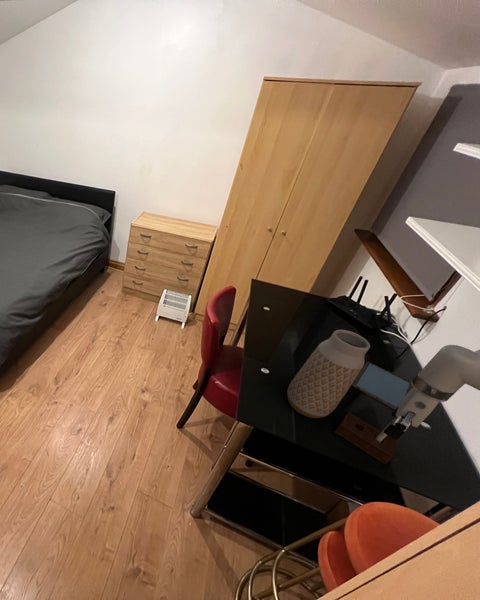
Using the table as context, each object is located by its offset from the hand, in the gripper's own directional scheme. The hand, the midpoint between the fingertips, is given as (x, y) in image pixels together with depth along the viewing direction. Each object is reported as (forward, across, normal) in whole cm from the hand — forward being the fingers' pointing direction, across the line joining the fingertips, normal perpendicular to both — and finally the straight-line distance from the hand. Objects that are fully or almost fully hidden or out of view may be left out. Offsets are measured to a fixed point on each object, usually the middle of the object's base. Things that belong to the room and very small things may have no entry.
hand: (393, 426), depth 94 cm
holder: (+10, 0, +3) cm, 11 cm away
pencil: (+10, 0, 0) cm, 10 cm away
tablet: (+10, +36, +5) cm, 38 cm away
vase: (+10, -1, +20) cm, 22 cm away
